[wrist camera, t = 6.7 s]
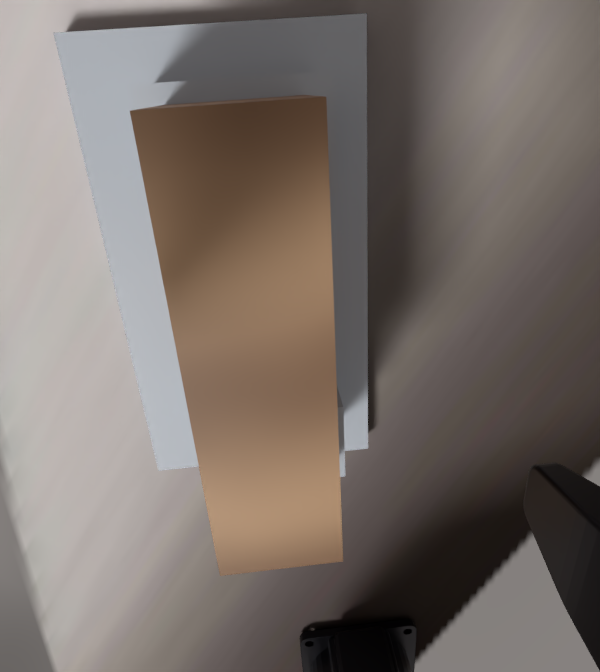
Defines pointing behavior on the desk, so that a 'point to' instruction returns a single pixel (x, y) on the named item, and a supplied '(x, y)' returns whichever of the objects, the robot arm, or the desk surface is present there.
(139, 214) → the pale grey flat fixture
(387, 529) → the desk surface
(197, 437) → the walnut bar
